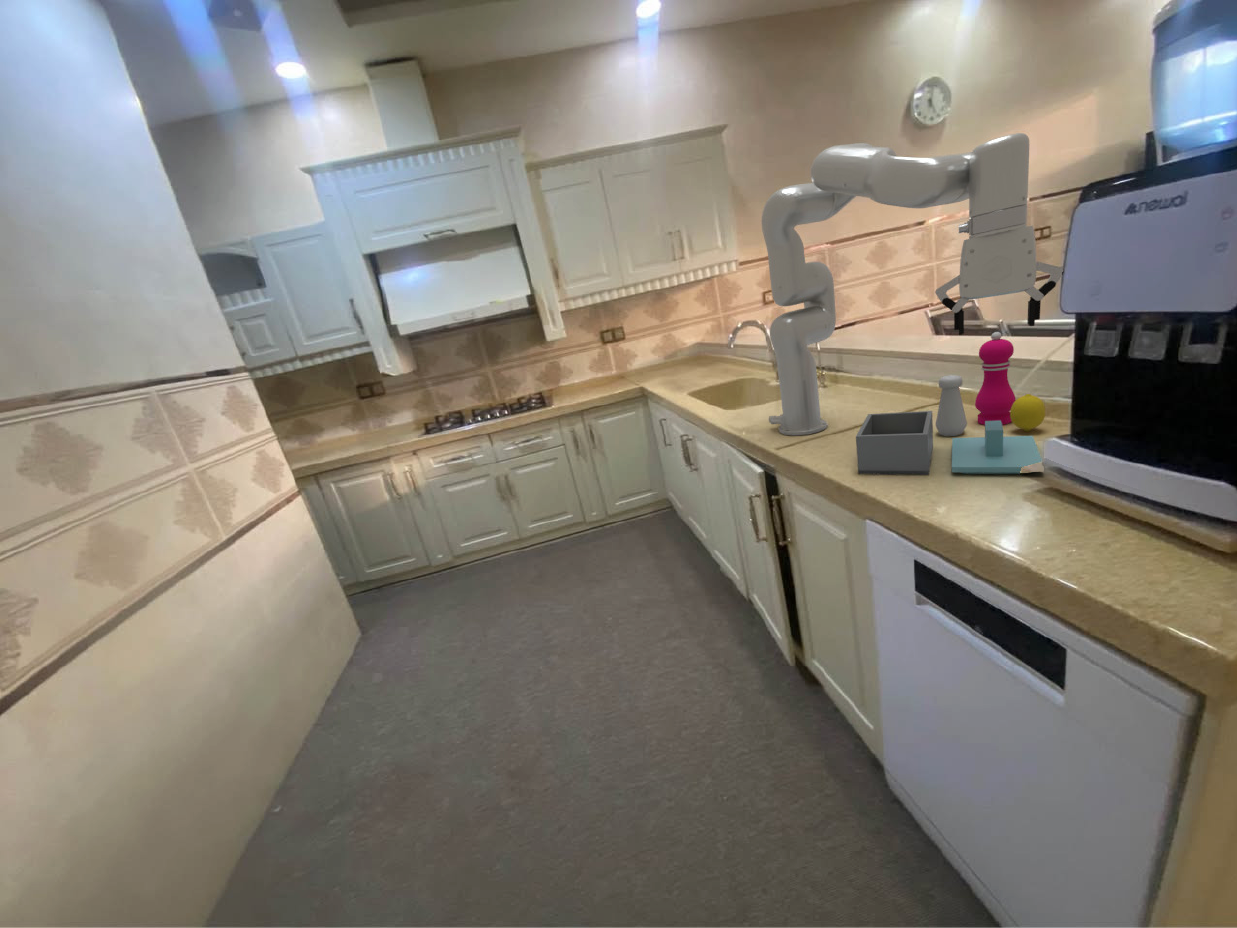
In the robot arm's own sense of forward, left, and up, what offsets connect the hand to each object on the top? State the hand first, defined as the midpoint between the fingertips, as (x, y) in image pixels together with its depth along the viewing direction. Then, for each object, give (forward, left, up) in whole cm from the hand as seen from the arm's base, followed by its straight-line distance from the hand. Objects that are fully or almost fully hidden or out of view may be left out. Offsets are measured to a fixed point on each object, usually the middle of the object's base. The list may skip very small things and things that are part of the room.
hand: (995, 329), depth 85 cm
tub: (-16, 0, -24) cm, 29 cm away
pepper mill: (+1, +25, -24) cm, 35 cm away
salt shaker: (-7, +17, -24) cm, 31 cm away
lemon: (+6, +17, -24) cm, 30 cm away
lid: (0, 0, -25) cm, 25 cm away
